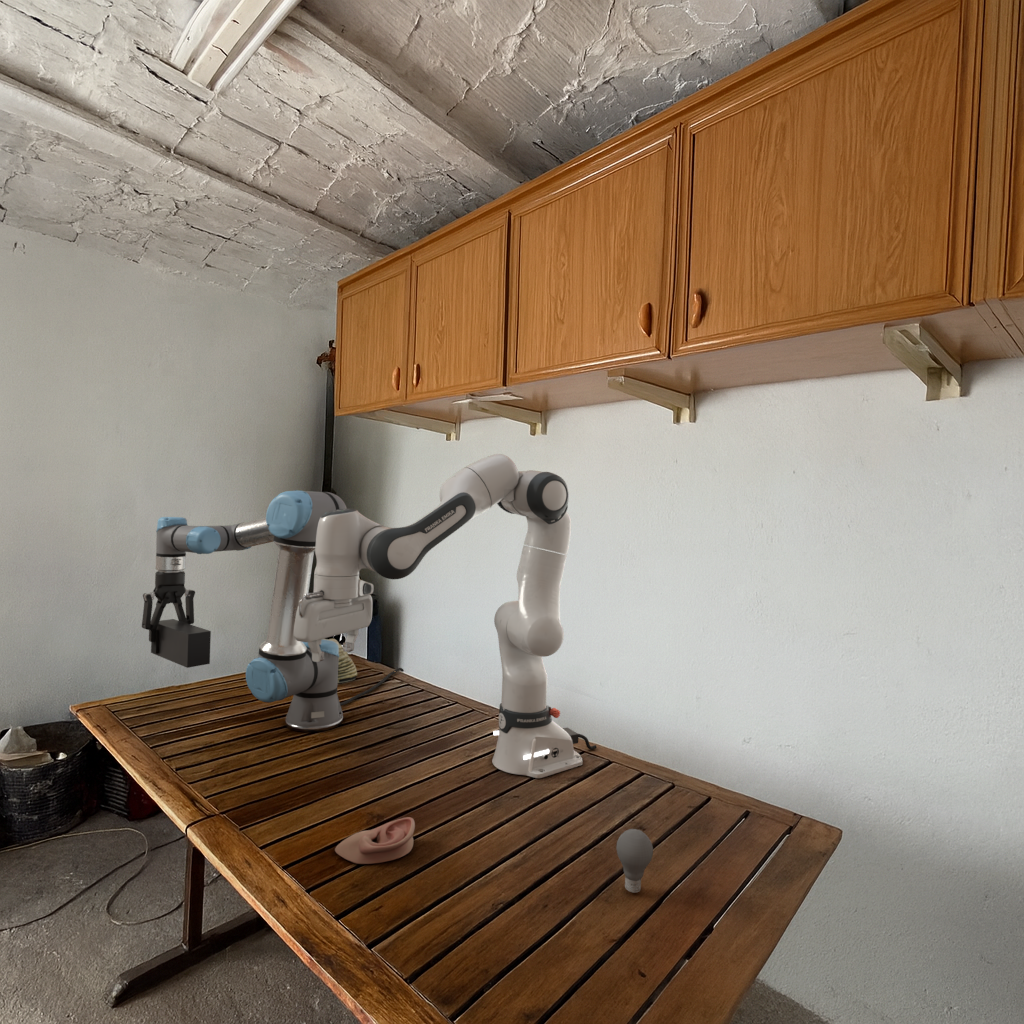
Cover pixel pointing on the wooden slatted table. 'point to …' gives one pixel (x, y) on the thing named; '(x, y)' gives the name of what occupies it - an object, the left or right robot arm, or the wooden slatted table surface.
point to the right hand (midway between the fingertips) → (333, 656)
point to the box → (183, 643)
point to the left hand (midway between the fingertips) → (167, 650)
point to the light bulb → (634, 857)
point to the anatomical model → (379, 843)
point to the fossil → (345, 665)
